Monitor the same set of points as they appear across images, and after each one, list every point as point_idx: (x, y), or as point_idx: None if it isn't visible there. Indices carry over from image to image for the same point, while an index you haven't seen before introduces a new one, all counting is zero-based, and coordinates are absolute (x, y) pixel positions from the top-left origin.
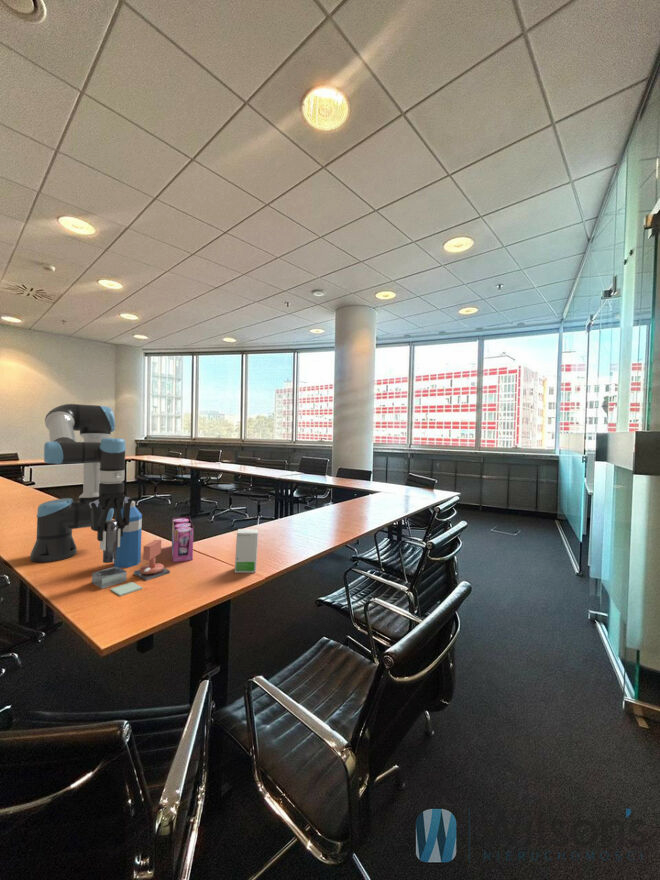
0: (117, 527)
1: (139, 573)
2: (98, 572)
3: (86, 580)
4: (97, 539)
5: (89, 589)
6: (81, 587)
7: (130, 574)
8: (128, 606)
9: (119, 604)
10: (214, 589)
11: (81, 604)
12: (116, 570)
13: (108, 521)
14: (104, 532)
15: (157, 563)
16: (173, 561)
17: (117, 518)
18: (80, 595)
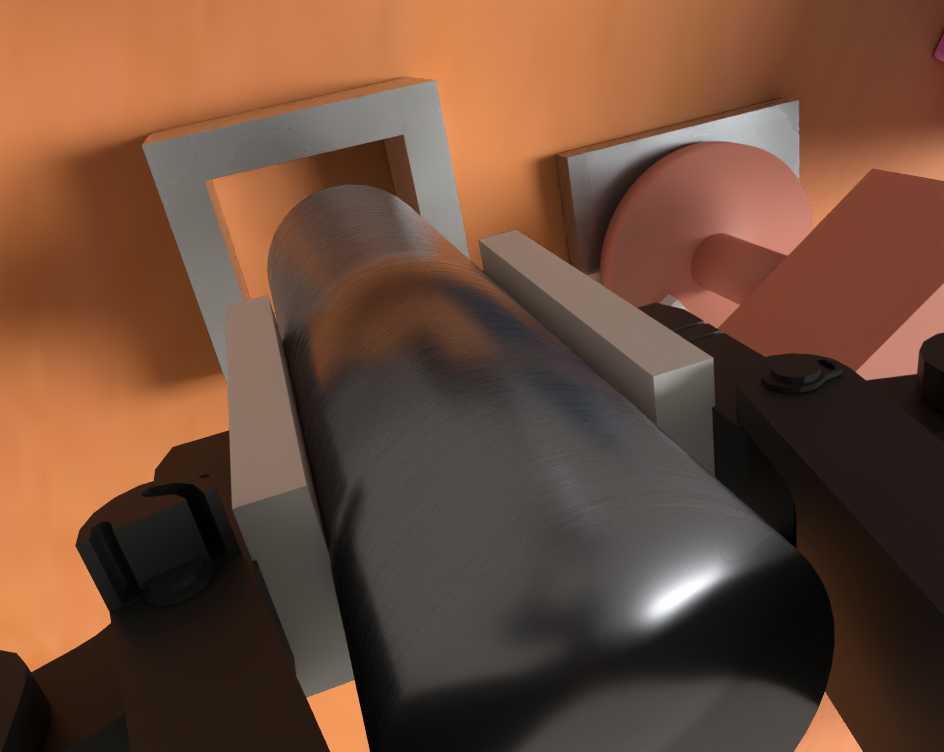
0: (712, 391)
1: (588, 275)
2: (217, 177)
3: (92, 6)
4: (163, 466)
5: (126, 315)
6: (44, 210)
7: (530, 137)
8: (366, 747)
9: (322, 702)
10: (816, 715)
11: (64, 601)
12: (412, 189)
13: (557, 705)
14: (324, 676)
15: (794, 181)
16: (941, 60)
17: (905, 733)
18: (45, 418)
